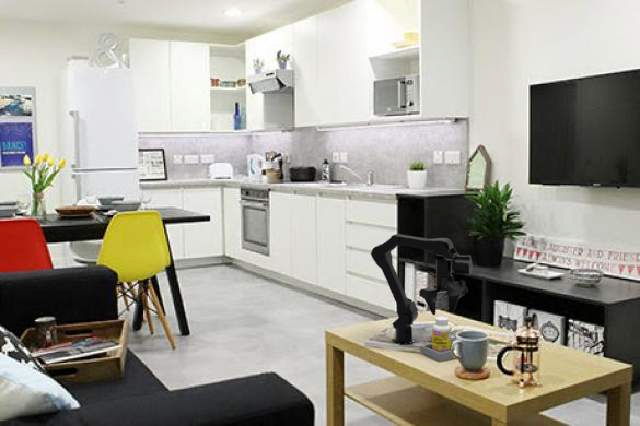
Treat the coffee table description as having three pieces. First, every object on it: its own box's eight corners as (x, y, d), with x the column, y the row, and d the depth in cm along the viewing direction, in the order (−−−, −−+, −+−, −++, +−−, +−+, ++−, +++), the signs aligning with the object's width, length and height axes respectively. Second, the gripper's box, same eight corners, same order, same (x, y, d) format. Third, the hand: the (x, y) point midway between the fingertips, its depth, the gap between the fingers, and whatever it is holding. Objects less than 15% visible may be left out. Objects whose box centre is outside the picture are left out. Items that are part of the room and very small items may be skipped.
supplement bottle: (429, 354, 245) (429, 319, 243) (435, 348, 251) (435, 314, 249) (447, 356, 242) (448, 321, 240) (453, 351, 248) (453, 316, 246)
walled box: (420, 353, 248) (420, 345, 248) (443, 348, 254) (443, 340, 253) (439, 362, 239) (439, 354, 239) (463, 356, 244) (463, 348, 244)
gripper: (437, 279, 241) (437, 322, 242) (477, 273, 249) (477, 314, 251) (418, 273, 250) (418, 315, 252) (457, 268, 259) (457, 308, 261)
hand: (443, 313), depth 254 cm, fingers open, 9 cm apart
